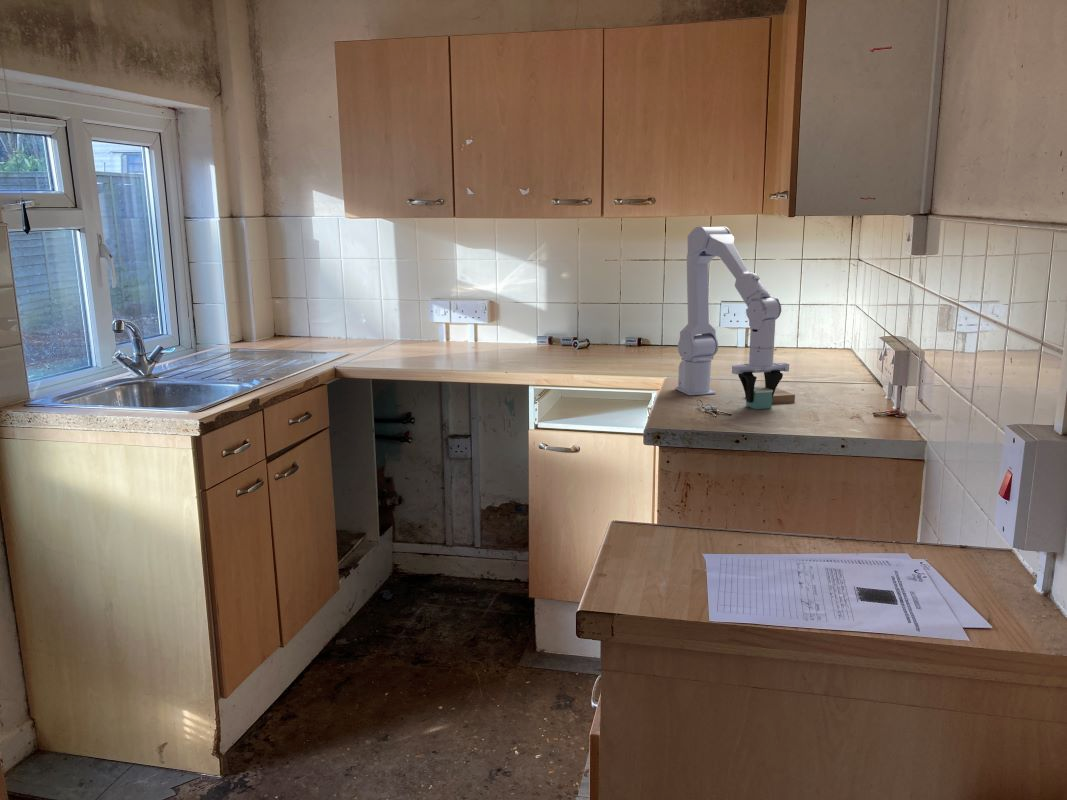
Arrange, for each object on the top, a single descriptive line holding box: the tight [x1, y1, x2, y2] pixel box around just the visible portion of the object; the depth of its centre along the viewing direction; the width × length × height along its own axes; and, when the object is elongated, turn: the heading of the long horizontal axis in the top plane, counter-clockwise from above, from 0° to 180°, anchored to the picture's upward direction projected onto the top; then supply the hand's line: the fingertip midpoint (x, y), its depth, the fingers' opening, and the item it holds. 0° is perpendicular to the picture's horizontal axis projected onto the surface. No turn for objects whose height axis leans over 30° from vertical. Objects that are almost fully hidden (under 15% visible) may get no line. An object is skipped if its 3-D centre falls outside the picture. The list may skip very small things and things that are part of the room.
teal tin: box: [745, 385, 773, 410], centre depth 205 cm, size 5×5×5 cm
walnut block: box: [745, 387, 796, 405], centre depth 214 cm, size 9×9×2 cm
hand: (758, 401), depth 205 cm, fingers closed on teal tin, 5 cm apart
